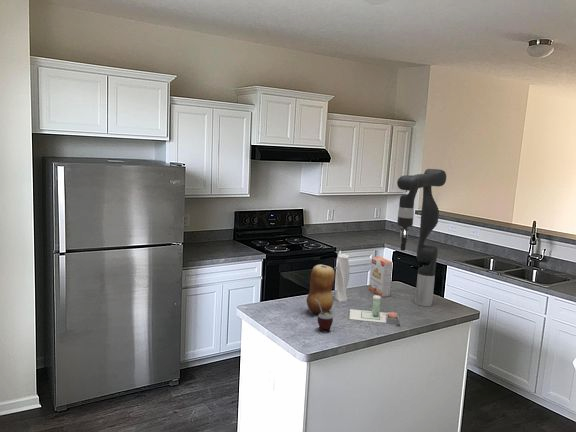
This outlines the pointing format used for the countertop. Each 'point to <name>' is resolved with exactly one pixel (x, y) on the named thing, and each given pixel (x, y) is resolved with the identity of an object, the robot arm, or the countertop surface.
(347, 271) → the skyscraper
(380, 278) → the cracker box
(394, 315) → the button
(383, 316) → the white flat board
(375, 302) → the marker
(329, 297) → the butternut squash
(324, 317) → the mate gourd
